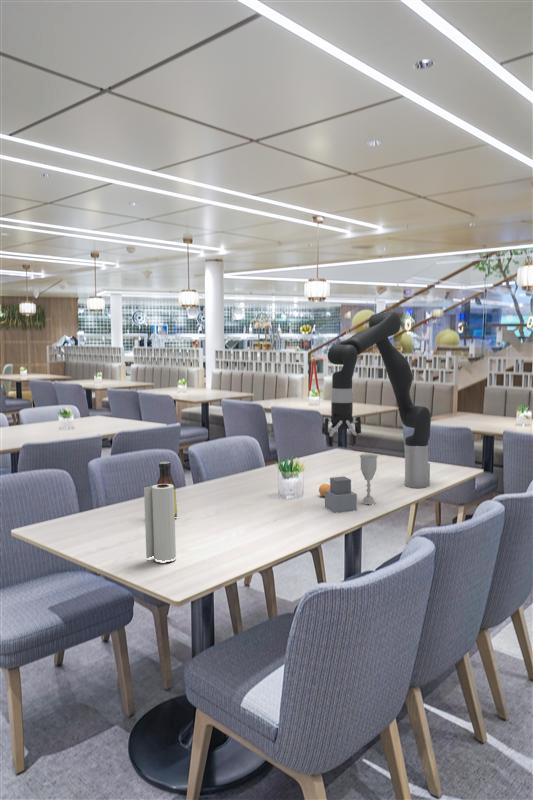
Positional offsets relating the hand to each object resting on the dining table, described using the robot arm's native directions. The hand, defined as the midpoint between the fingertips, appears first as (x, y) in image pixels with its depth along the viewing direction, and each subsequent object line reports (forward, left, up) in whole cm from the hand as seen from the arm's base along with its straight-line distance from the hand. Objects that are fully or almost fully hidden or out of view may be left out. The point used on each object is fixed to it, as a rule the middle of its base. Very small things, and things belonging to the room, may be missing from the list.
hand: (341, 446), depth 221 cm
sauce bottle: (+61, -10, -23) cm, 66 cm away
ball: (-2, -18, -20) cm, 28 cm away
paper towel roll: (+69, +30, -23) cm, 79 cm away
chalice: (-13, -3, -23) cm, 27 cm away
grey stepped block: (0, 0, -23) cm, 23 cm away
